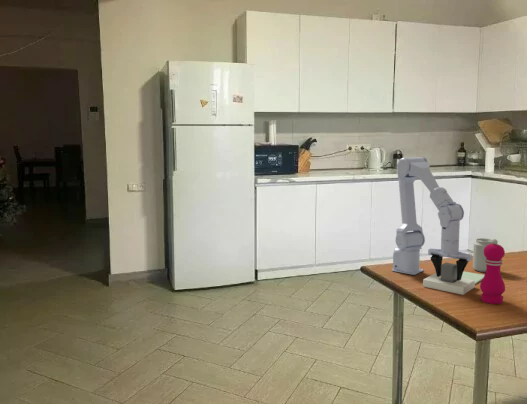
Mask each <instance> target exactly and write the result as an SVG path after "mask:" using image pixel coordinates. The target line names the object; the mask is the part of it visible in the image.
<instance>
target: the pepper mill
mask: <svg viewBox="0 0 527 404" xmlns="http://www.w3.org/2000/svg"><path fill="white" fill-rule="evenodd" d="M491 240H492V241H491V243H492V244H489V245H487V246H486V247H485V248H484V255H485V257H486V259H485V263H486V267H487V268H486V272H484V274H483V275H484V277H483V279H482V280H481V281H480V284H479V289H480V291H481V292H482V293H481V295H480V299H481V301H482V302H483V303H487V304H491V305H499V304H502V303H503V302H504V295H503V294H504V292H505V291H506V284H505V282H504V279H503V278H502V277H503V276H502V274H501V266H503V258H504V257H505V252H506V251H505V249H504V247H503V245H500V244H498V243H499V241H498V240H497V239H496V238H495V239H491Z"/></svg>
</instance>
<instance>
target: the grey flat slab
mask: <svg viewBox="0 0 527 404" xmlns="http://www.w3.org/2000/svg"><path fill="white" fill-rule="evenodd" d="M422 280H423V281H422V287H423V288H424V287H425V288H429V289H434V290H438V291H442V292H448V293H452V294H457V295H463V296H464V295H465V294H467V293H468V292H470V291H471V290H473V289H474V288H475V287H476V286H475V285H476V284H475V280H470V279H465V278H461V280H459V281H458V280H457V281H456V282H454V283H450V282H445V281H441V276H439V277H437V275H436V272H434V273H433V274H431V275H429V276H426V278H423V279H422Z"/></svg>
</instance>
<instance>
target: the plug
mask: <svg viewBox="0 0 527 404" xmlns="http://www.w3.org/2000/svg"><path fill="white" fill-rule="evenodd" d="M441 281H445V282H450V283H454V282H456V281H457V264H456V263H451V262H444V263H442V265H441Z"/></svg>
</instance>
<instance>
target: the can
mask: <svg viewBox="0 0 527 404" xmlns="http://www.w3.org/2000/svg"><path fill="white" fill-rule="evenodd" d="M492 240H493V239H492V238H491V239H490V238H483V237H482V238H480V237H479V238H476V239H475V241H474V243H473V254H472V268H473V269H474V270H475V271H476V272H479V273H480V272H481V273H486V268H487V267H486V263H485V259H486V257H485V255H484V248H485V247H486V246H487V245H489V244H492V243H491V241H492Z"/></svg>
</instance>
